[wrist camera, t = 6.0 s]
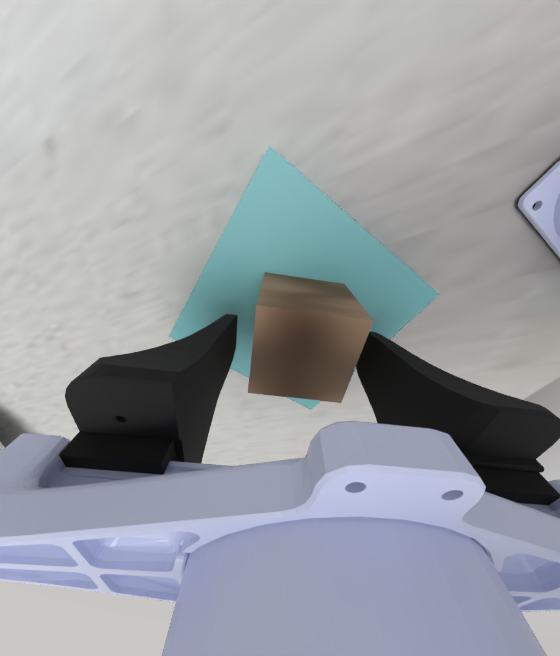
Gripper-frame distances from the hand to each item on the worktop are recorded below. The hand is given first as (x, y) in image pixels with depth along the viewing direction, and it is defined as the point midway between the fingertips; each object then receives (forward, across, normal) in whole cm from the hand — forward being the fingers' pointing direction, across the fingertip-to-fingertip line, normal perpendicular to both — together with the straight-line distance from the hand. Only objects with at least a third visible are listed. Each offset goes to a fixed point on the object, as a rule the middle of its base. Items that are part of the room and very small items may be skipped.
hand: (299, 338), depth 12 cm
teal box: (+6, 0, 0) cm, 6 cm away
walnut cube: (+3, 0, 0) cm, 3 cm away
